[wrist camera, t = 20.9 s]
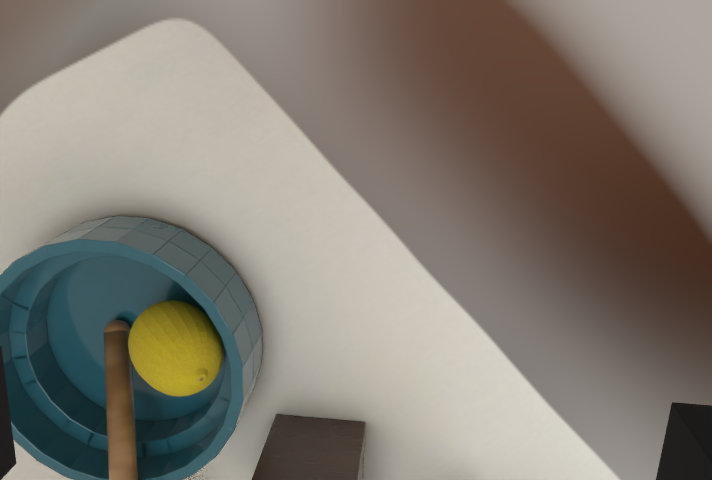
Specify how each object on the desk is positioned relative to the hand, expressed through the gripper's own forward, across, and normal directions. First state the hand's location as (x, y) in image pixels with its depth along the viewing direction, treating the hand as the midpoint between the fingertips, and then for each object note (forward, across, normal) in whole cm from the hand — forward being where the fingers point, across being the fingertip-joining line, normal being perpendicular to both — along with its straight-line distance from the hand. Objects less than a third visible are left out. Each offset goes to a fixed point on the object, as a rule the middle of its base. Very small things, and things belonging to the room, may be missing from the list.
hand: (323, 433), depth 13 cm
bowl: (+32, -17, -14) cm, 39 cm away
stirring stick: (+31, -18, -13) cm, 38 cm away
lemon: (+30, -16, -12) cm, 36 cm away
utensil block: (+32, -4, -23) cm, 39 cm away
